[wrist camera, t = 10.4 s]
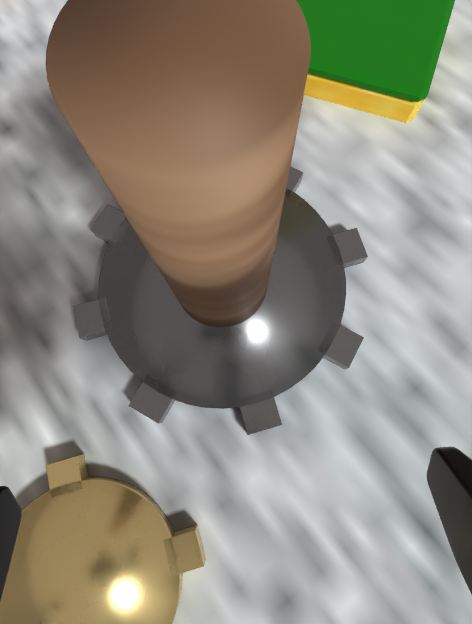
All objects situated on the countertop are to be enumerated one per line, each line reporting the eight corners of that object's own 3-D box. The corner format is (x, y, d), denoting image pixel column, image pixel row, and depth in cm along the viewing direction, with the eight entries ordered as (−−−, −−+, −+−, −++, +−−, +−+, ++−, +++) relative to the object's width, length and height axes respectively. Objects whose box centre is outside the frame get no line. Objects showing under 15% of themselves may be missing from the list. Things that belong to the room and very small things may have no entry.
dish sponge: (408, 129, 23) (427, 97, 20) (181, 66, 24) (174, 29, 22) (437, 32, 24) (457, -8, 22) (221, -22, 26) (219, -66, 23)
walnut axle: (247, 341, 19) (252, 202, 6) (160, 306, 19) (-3, 112, 7) (281, 257, 20) (346, -14, 7) (197, 226, 20) (117, -80, 8)
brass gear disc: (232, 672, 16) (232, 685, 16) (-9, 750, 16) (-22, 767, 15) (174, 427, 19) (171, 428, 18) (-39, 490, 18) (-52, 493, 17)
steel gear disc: (410, 385, 19) (417, 384, 18) (112, 473, 18) (106, 476, 17) (313, 131, 22) (315, 121, 21) (58, 199, 22) (51, 191, 21)
